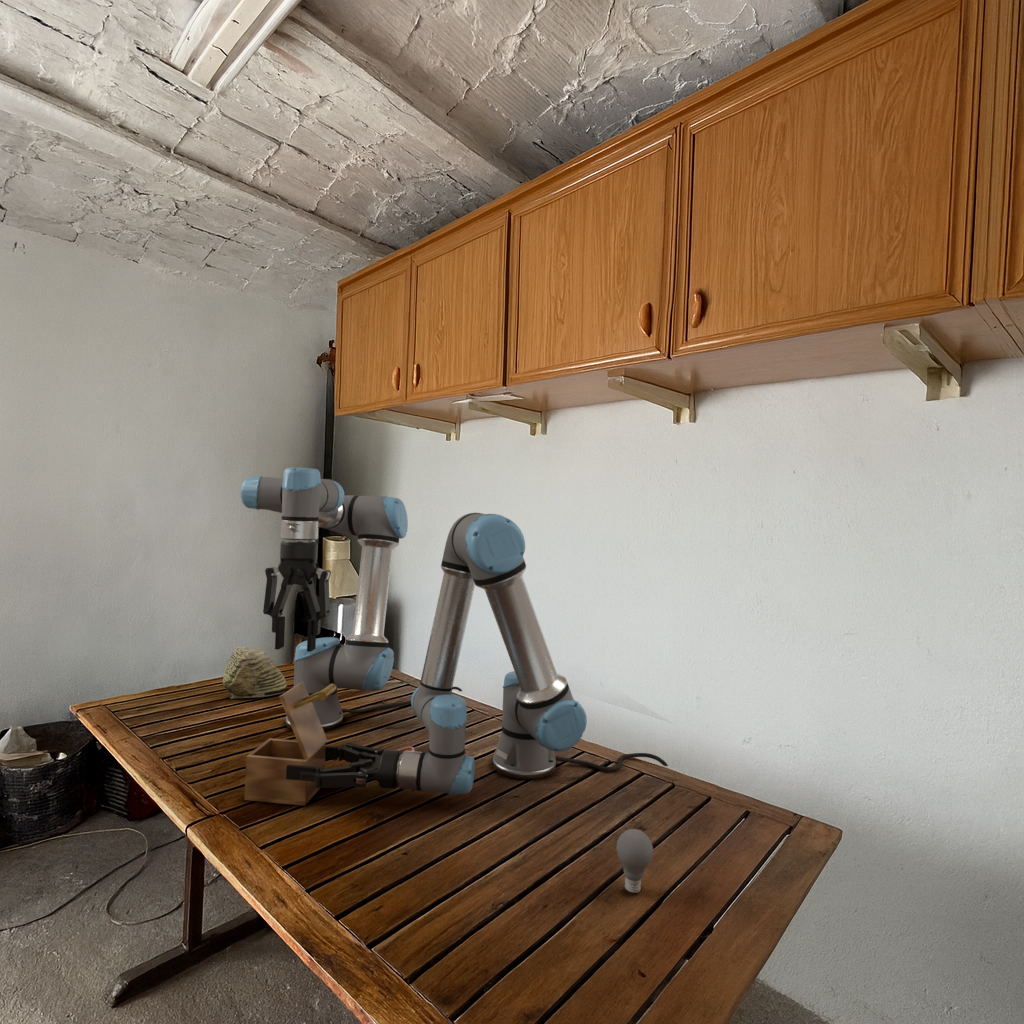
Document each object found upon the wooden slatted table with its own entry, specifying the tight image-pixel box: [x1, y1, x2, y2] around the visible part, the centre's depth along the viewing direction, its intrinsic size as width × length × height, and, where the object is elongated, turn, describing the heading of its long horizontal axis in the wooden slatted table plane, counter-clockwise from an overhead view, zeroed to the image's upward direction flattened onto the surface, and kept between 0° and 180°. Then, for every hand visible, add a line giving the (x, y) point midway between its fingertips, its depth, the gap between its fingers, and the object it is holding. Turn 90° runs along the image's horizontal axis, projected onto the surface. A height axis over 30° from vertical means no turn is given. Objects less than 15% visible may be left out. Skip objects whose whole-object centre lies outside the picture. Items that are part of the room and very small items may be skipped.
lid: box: [278, 682, 338, 760], centre depth 134 cm, size 14×10×8 cm
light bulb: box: [615, 828, 654, 894], centre depth 106 cm, size 6×6×10 cm
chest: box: [244, 737, 327, 807], centre depth 135 cm, size 13×10×9 cm
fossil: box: [222, 646, 288, 699], centre depth 198 cm, size 9×18×15 cm, turn 132°
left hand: (295, 648), depth 135 cm, fingers open, 6 cm apart
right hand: (298, 761), depth 135 cm, fingers closed on chest, 10 cm apart
